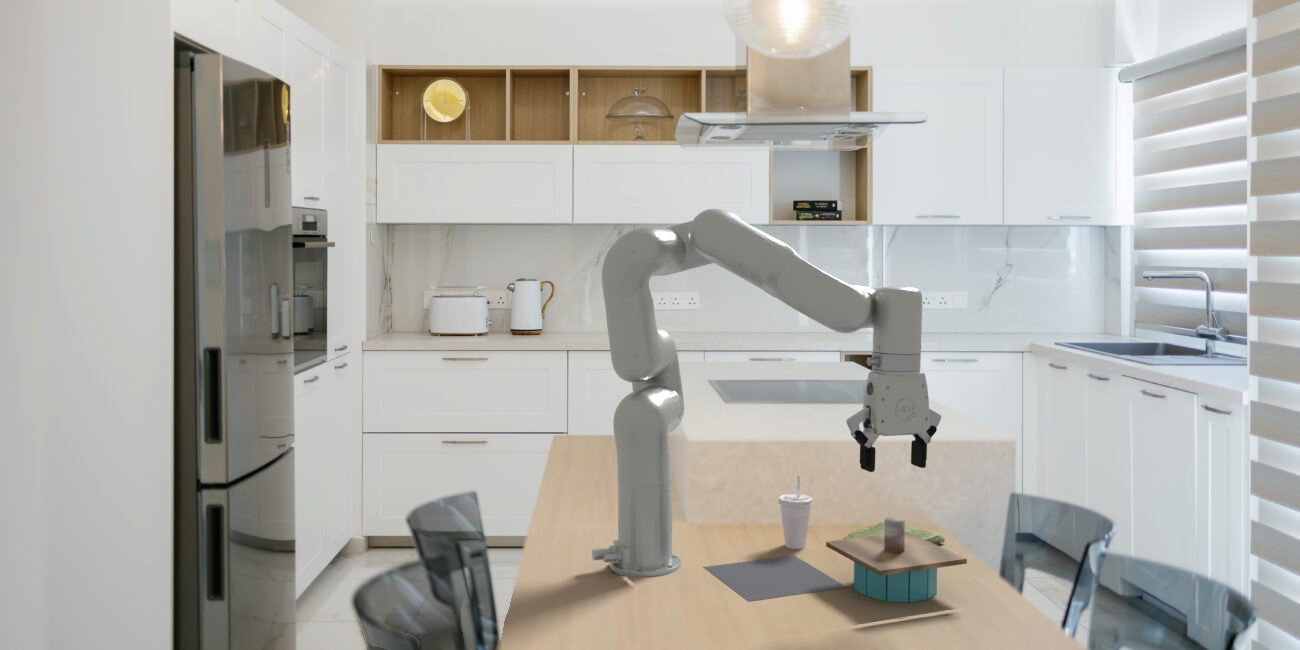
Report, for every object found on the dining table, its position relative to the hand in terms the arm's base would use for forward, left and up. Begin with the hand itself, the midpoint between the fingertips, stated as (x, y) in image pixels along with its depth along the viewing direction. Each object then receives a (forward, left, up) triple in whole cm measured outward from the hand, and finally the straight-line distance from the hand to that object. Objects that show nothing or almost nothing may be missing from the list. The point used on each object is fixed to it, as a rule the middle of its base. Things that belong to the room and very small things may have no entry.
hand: (893, 468), depth 154 cm
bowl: (0, 0, -20) cm, 20 cm away
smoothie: (-4, +26, -21) cm, 33 cm away
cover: (0, 0, -14) cm, 14 cm away
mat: (-16, +12, -20) cm, 28 cm away
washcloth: (+14, +21, -21) cm, 33 cm away
